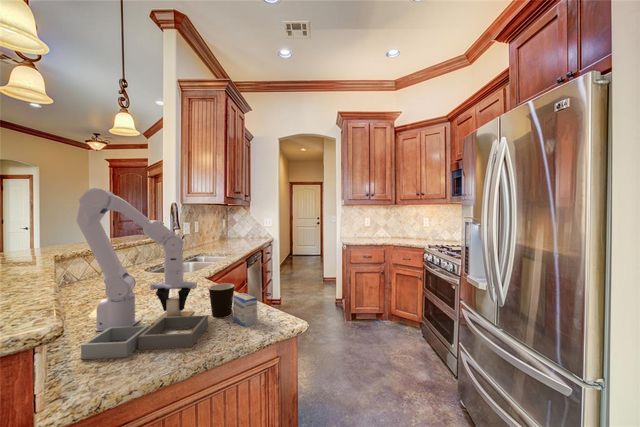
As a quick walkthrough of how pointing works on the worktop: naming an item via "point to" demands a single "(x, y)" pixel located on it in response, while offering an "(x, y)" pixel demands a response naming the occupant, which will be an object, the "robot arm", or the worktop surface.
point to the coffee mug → (221, 299)
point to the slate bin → (106, 349)
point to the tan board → (185, 313)
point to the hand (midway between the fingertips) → (174, 309)
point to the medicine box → (245, 309)
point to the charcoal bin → (181, 340)
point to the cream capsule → (173, 307)
